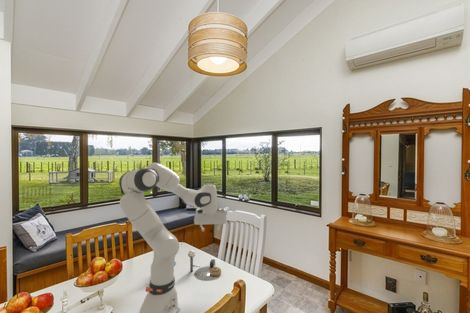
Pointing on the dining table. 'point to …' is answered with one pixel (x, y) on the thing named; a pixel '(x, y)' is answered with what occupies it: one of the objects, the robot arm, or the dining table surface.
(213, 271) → the cover
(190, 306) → the dining table surface
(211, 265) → the turntable
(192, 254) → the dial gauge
